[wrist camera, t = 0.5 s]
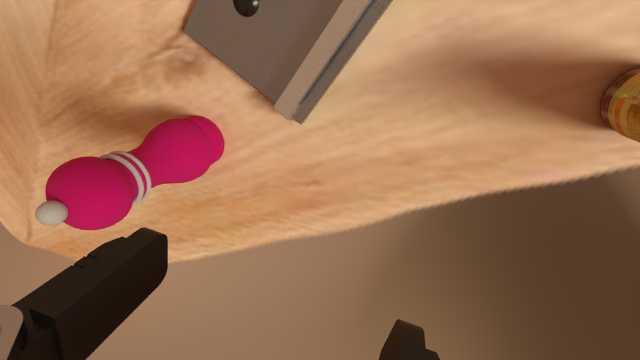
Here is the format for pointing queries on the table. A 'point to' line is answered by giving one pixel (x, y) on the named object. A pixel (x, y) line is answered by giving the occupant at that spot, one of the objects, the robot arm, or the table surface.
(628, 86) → the sauce bottle
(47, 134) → the table surface
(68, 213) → the pepper mill
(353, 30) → the hole plate
